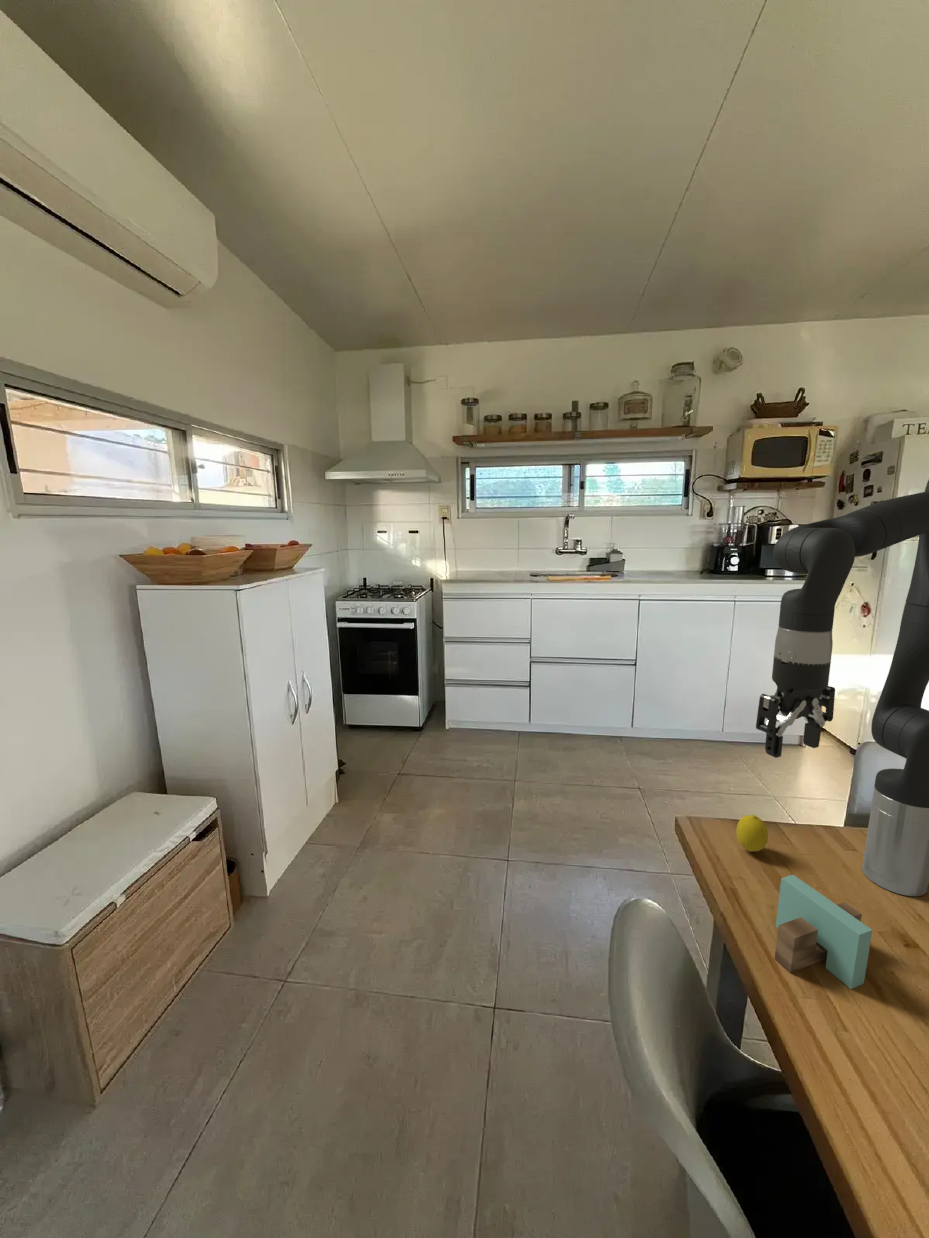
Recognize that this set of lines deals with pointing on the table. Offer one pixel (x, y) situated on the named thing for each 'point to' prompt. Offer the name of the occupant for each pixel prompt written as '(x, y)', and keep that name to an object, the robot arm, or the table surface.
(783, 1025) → the table surface
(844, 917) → the teal arch block
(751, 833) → the lemon
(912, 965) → the table surface
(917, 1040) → the table surface
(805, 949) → the brown wooden u-shaped block
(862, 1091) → the table surface
